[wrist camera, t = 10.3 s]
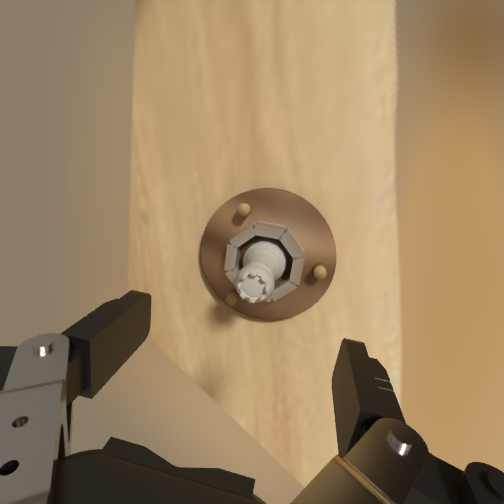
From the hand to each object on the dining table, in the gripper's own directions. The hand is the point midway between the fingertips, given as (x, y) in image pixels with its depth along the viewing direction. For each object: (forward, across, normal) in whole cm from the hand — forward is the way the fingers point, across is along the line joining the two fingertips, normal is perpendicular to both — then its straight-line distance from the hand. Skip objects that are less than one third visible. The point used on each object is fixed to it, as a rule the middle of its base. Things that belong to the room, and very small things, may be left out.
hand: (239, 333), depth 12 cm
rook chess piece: (+19, +1, +3) cm, 19 cm away
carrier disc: (+20, +1, +3) cm, 20 cm away
